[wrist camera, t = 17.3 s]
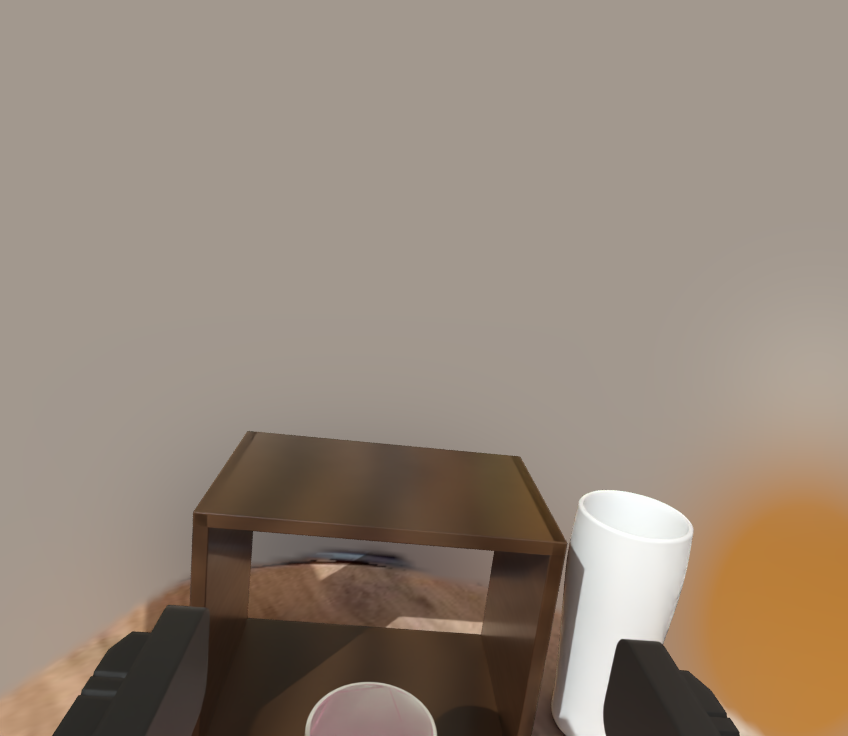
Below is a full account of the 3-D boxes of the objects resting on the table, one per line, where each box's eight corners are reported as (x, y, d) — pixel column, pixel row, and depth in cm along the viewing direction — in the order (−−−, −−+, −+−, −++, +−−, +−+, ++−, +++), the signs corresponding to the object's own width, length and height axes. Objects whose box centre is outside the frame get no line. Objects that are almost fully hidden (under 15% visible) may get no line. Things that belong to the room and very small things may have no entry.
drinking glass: (521, 690, 43) (557, 488, 40) (607, 681, 45) (649, 488, 41) (569, 775, 37) (617, 543, 33) (667, 760, 39) (722, 539, 35)
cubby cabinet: (183, 769, 34) (192, 511, 31) (235, 628, 46) (247, 430, 42) (522, 787, 35) (568, 543, 32) (489, 646, 47) (520, 456, 44)
